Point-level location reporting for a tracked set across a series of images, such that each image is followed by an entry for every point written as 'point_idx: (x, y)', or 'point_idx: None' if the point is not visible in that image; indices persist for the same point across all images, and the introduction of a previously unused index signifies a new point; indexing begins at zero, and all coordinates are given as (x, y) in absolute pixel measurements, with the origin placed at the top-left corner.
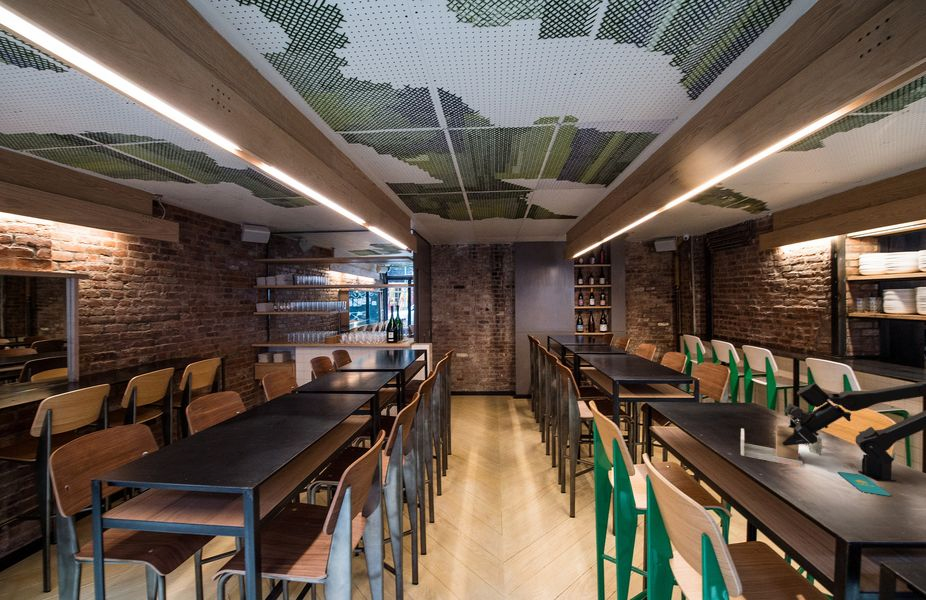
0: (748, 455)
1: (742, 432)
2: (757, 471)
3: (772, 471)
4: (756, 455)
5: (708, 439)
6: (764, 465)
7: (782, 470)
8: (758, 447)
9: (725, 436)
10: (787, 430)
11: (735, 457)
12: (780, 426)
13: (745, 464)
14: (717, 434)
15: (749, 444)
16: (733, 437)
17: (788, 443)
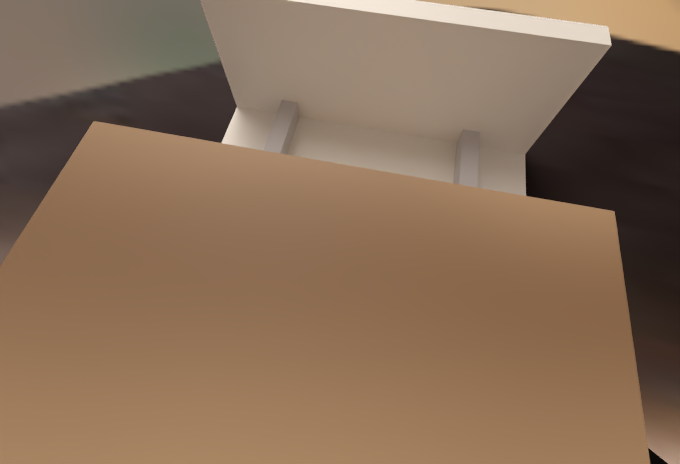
0: (250, 130)
1: (444, 12)
2: (4, 133)
3: (11, 213)
4: None
5: (495, 10)
6: None
7: None
8: None
9: (647, 94)
10: (109, 396)
11: (220, 76)
12: (563, 302)
13: (112, 100)
14: (653, 61)
15: (465, 160)
16: (669, 134)
17: None
